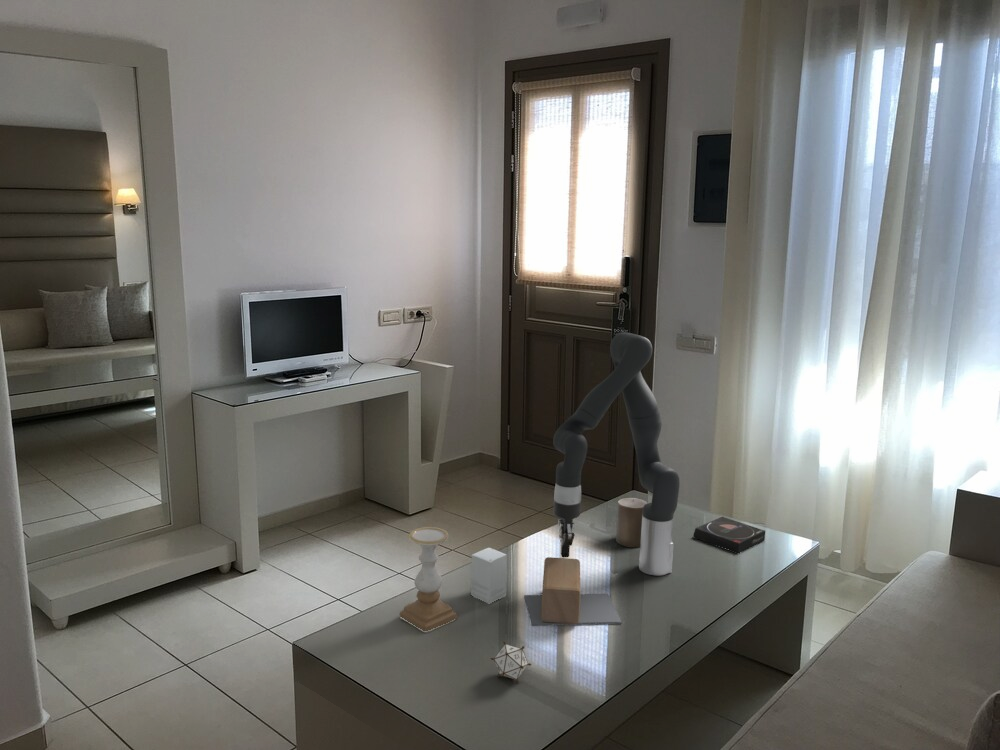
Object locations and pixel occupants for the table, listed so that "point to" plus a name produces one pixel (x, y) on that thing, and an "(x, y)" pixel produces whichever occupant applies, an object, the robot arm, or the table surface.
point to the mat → (591, 610)
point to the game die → (510, 661)
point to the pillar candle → (629, 522)
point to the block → (561, 590)
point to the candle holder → (428, 583)
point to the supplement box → (489, 575)
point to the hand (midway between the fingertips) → (564, 556)
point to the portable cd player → (730, 534)
